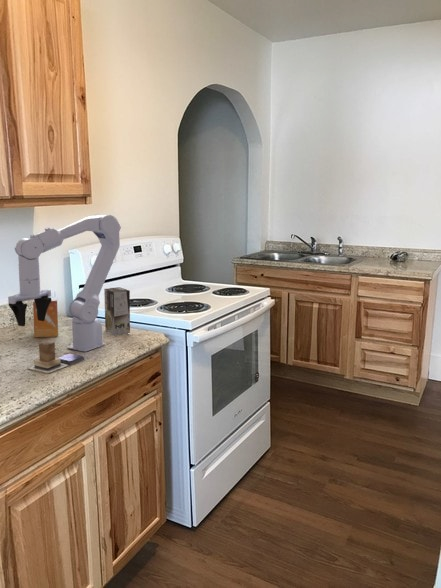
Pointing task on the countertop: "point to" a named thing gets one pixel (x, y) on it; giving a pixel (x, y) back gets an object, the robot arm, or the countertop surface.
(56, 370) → the print mark
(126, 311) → the coffee box
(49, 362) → the stamp
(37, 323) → the small box
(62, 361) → the ink pad
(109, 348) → the countertop surface
